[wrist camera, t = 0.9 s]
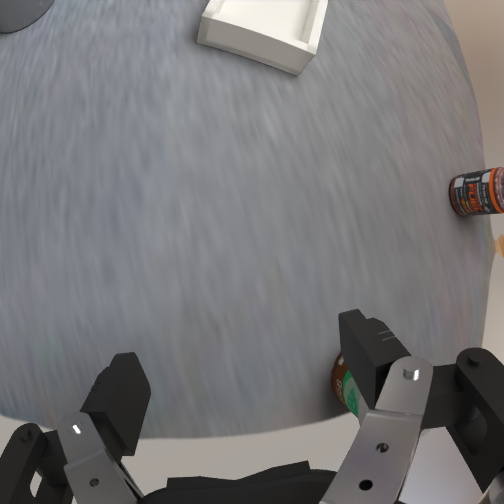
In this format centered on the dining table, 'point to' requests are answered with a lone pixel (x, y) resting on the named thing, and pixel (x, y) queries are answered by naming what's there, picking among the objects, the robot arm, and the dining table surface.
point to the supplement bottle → (478, 192)
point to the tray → (265, 30)
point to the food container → (351, 391)
